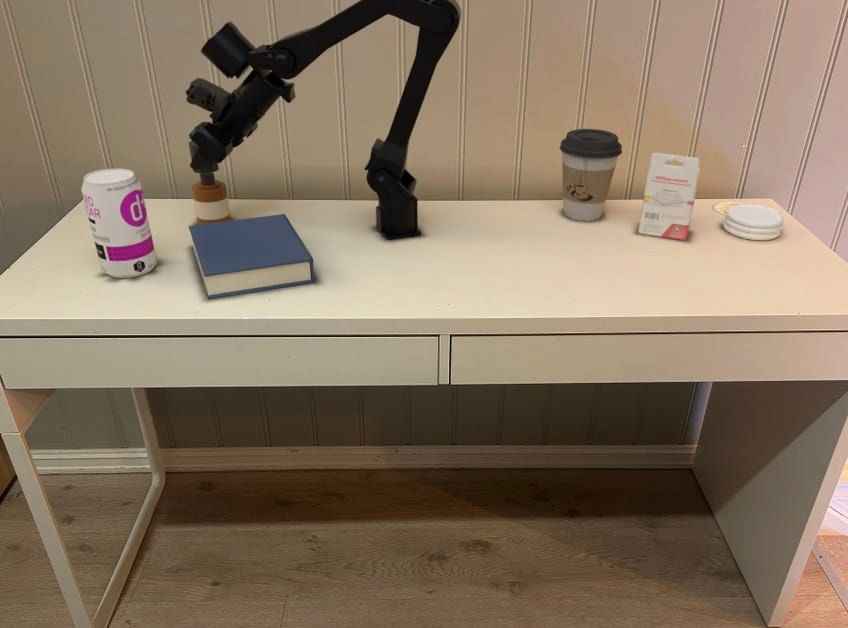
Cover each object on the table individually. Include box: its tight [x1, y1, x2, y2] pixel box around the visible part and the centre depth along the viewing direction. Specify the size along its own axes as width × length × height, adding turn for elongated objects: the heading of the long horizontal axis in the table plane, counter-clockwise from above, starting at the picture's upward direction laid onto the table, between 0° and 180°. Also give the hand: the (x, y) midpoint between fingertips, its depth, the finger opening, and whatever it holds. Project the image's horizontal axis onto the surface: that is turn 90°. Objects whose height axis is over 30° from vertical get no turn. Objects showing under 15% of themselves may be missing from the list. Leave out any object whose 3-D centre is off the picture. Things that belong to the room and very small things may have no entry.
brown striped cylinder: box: [191, 172, 232, 225], centre depth 130 cm, size 6×6×9 cm
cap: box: [188, 140, 220, 175], centre depth 126 cm, size 4×4×5 cm
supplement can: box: [81, 168, 158, 279], centre depth 112 cm, size 8×8×15 cm
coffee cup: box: [559, 128, 623, 222], centre depth 136 cm, size 11×11×15 cm
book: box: [188, 213, 316, 300], centre depth 117 cm, size 16×20×4 cm
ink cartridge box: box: [638, 152, 701, 241], centre depth 129 cm, size 9×5×15 cm, turn 68°
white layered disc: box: [722, 203, 785, 241], centre depth 134 cm, size 10×10×4 cm
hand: (197, 163), depth 127 cm, fingers closed on cap, 4 cm apart
